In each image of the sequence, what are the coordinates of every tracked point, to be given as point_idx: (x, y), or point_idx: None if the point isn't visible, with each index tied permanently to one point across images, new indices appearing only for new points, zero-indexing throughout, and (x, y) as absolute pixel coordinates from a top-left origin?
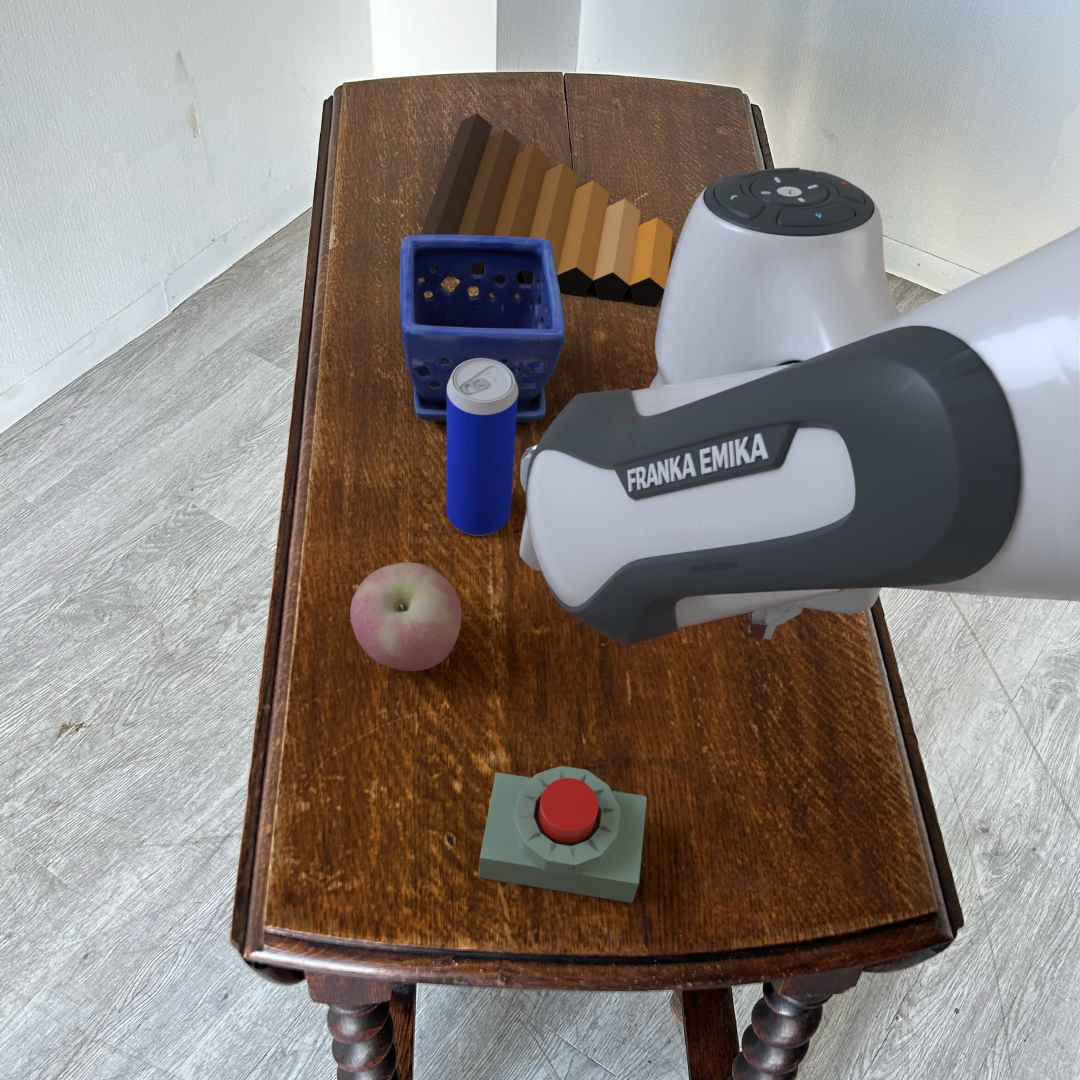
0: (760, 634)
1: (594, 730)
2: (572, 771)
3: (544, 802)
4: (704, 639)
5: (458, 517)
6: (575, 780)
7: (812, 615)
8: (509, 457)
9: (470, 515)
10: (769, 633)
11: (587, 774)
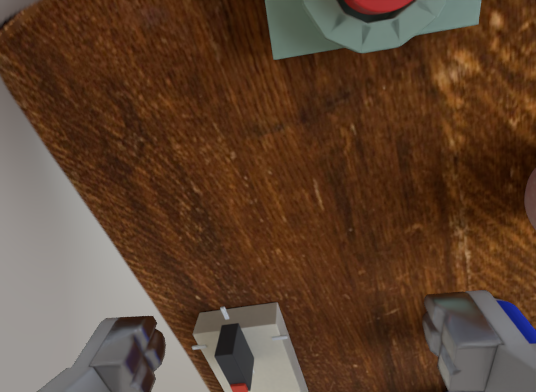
0: (116, 329)
1: (343, 141)
2: (381, 43)
3: None
4: (261, 256)
5: (519, 316)
6: (384, 8)
7: (183, 294)
8: None
9: (513, 322)
10: (96, 337)
11: (359, 45)
